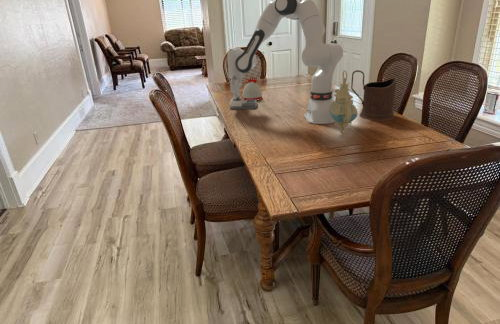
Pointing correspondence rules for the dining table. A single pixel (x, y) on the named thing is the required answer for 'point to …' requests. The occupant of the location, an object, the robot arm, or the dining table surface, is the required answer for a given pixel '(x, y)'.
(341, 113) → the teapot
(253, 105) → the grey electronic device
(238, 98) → the cell
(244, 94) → the kitchen timer
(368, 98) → the brown pitcher
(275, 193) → the dining table surface
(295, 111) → the dining table surface
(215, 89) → the dining table surface
